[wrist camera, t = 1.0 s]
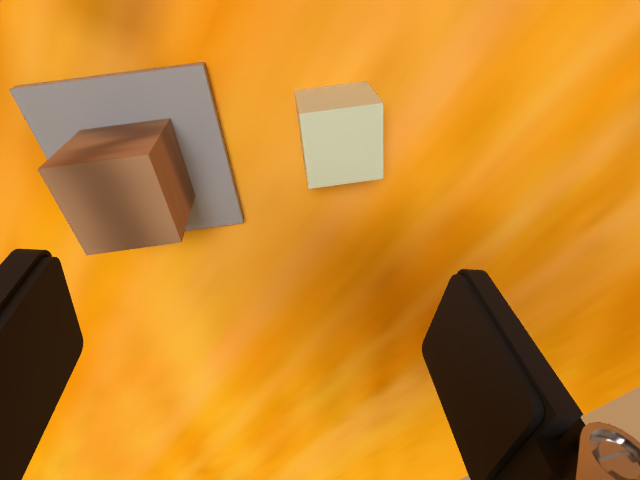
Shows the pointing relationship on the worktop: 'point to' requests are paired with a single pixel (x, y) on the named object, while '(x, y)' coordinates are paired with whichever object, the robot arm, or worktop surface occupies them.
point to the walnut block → (122, 186)
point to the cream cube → (341, 134)
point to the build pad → (138, 106)
